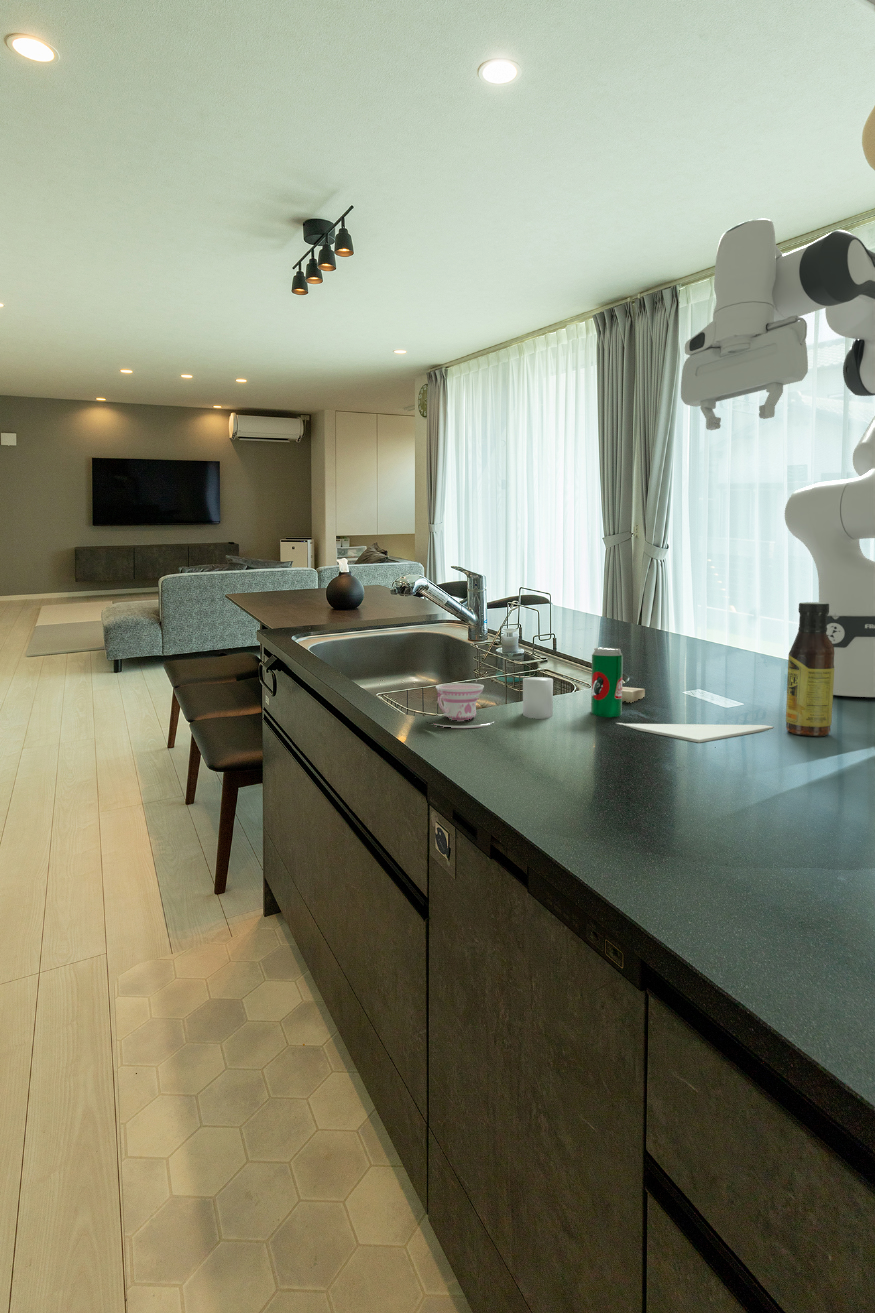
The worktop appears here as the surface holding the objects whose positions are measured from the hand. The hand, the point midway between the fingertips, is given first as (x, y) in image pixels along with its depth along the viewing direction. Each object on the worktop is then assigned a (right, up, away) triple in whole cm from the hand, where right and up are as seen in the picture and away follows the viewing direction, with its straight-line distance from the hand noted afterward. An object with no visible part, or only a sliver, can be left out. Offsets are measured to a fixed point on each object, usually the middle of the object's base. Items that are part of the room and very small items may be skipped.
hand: (738, 423), depth 116 cm
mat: (-7, -48, +2) cm, 48 cm away
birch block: (-13, -46, +19) cm, 52 cm away
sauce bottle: (+9, -48, -4) cm, 49 cm away
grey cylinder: (-30, -47, +9) cm, 57 cm away
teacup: (-43, -48, +7) cm, 65 cm away
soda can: (-19, -47, +9) cm, 52 cm away
